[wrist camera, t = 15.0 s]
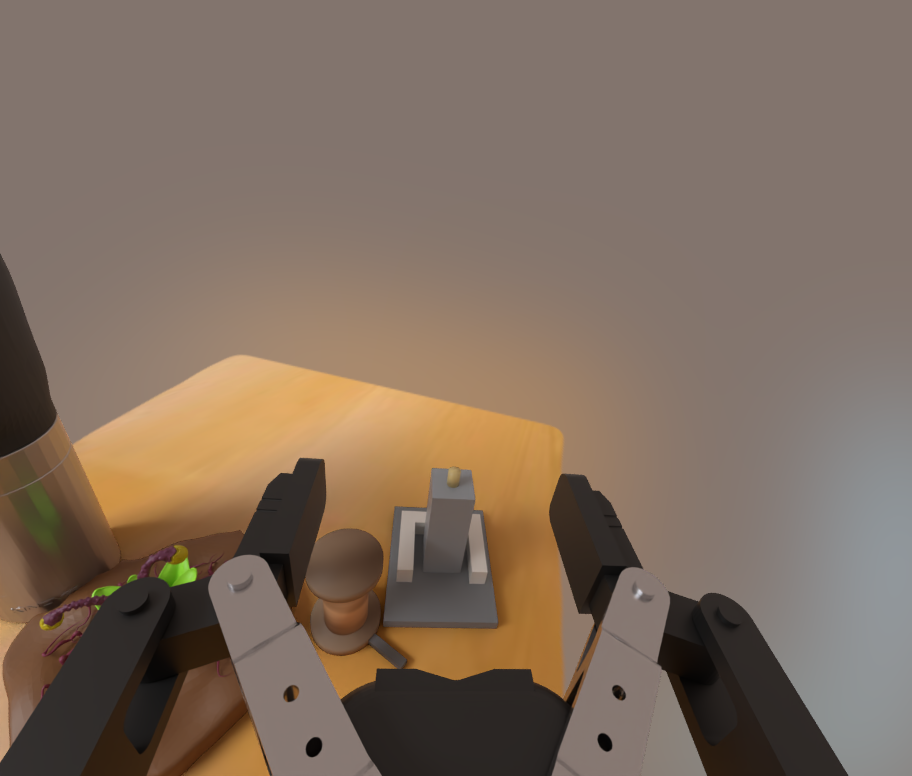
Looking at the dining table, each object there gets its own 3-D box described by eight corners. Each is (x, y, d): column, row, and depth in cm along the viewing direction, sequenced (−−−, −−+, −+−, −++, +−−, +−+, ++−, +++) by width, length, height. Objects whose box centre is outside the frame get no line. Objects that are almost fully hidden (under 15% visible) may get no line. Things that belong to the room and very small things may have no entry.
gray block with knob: (460, 572, 43) (477, 487, 37) (422, 572, 43) (434, 485, 37) (457, 541, 47) (473, 458, 40) (422, 540, 46) (433, 455, 40)
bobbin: (302, 606, 39) (295, 545, 35) (365, 577, 43) (366, 518, 38) (336, 710, 33) (333, 652, 28) (408, 666, 36) (415, 608, 31)
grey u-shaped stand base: (496, 628, 40) (502, 610, 38) (383, 626, 39) (384, 608, 37) (481, 516, 52) (485, 499, 50) (394, 512, 51) (395, 494, 49)
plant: (330, 668, 36) (325, 592, 30) (15, 901, 24) (-94, 847, 18) (249, 519, 48) (234, 445, 42) (13, 623, 35) (-54, 538, 30)
